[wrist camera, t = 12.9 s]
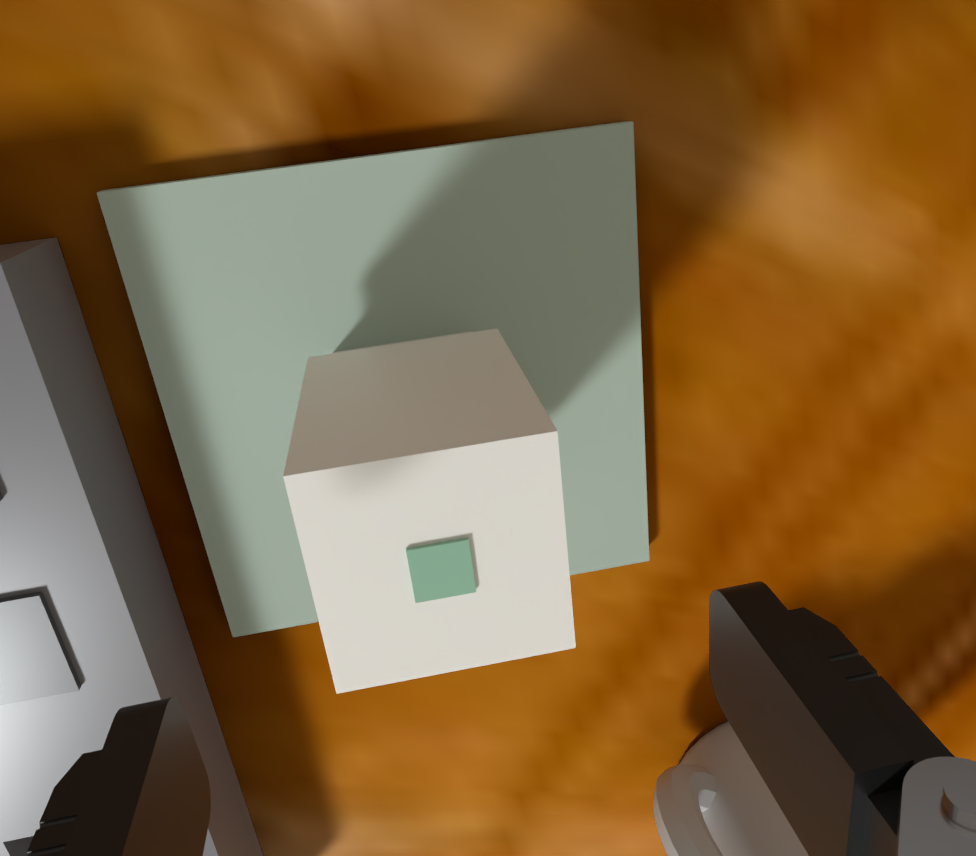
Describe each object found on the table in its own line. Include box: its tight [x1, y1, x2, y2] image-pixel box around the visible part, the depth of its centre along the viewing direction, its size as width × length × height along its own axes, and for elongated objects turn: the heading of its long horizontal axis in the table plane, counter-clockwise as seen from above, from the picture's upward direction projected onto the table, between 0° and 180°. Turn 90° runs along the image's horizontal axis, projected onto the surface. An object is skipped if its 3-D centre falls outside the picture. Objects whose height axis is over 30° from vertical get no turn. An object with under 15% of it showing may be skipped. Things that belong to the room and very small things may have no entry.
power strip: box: [0, 237, 263, 856], centre depth 22 cm, size 34×7×4 cm, turn 7°
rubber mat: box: [97, 121, 649, 637], centre depth 23 cm, size 14×14×1 cm
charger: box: [283, 328, 576, 694], centre depth 19 cm, size 5×5×9 cm
